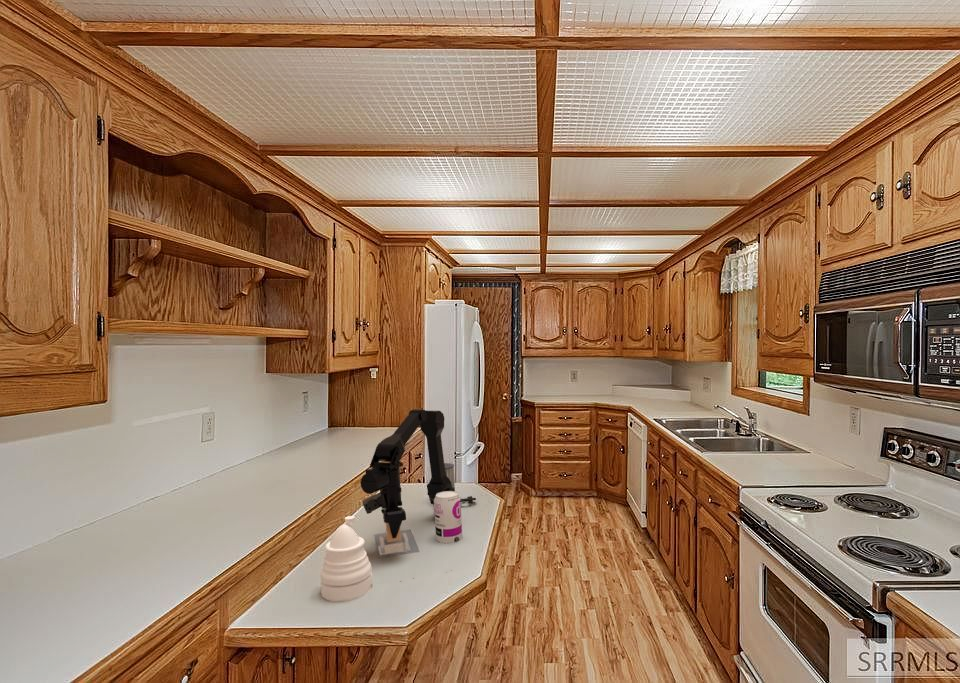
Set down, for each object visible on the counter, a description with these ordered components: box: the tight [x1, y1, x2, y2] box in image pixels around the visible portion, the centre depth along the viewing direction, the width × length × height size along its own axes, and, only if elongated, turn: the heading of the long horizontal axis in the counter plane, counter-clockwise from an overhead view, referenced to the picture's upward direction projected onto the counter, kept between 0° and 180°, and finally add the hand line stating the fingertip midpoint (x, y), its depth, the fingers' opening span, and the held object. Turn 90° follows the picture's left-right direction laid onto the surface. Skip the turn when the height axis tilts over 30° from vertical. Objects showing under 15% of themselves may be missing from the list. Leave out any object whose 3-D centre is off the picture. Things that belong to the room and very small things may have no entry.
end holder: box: [378, 533, 411, 557], centre depth 156 cm, size 9×7×4 cm
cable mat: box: [373, 528, 421, 559], centre depth 161 cm, size 12×20×1 cm, turn 15°
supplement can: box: [433, 491, 463, 544], centre depth 163 cm, size 8×8×15 cm
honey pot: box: [320, 515, 373, 602], centre depth 135 cm, size 13×13×18 cm
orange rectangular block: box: [385, 523, 401, 542], centre depth 156 cm, size 4×3×6 cm
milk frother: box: [444, 462, 477, 504], centre depth 201 cm, size 14×16×15 cm
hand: (393, 536), depth 156 cm, fingers closed on orange rectangular block, 3 cm apart
